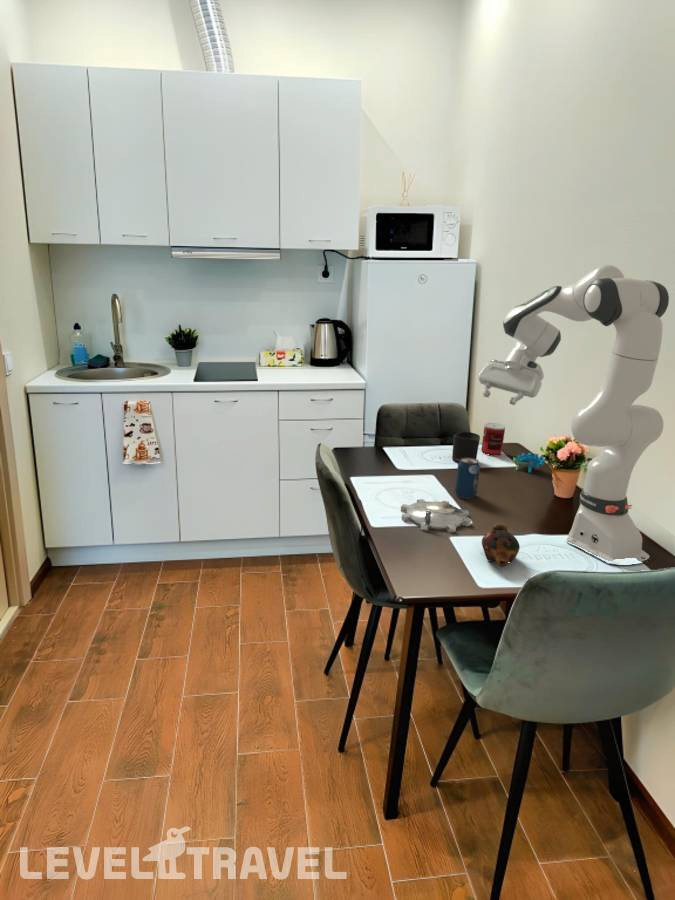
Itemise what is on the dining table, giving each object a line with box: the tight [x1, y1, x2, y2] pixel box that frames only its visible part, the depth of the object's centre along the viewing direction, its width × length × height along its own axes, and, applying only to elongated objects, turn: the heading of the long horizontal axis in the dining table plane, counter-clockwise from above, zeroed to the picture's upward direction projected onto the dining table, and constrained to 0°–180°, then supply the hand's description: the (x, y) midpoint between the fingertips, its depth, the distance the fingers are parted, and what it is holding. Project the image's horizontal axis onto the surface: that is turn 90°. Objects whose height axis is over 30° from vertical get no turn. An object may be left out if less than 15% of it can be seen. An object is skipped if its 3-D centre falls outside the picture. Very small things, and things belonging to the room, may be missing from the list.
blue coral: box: [512, 452, 546, 474], centre depth 245 cm, size 11×6×10 cm
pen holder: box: [451, 431, 481, 464], centre depth 251 cm, size 9×9×10 cm
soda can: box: [454, 457, 481, 500], centre depth 217 cm, size 7×7×12 cm
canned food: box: [481, 422, 506, 456], centre depth 262 cm, size 8×8×11 cm
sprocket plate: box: [400, 498, 472, 534], centre depth 200 cm, size 21×21×4 cm
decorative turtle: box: [481, 522, 521, 567], centre depth 176 cm, size 10×15×8 cm, turn 178°
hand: (498, 399), depth 218 cm, fingers open, 8 cm apart
